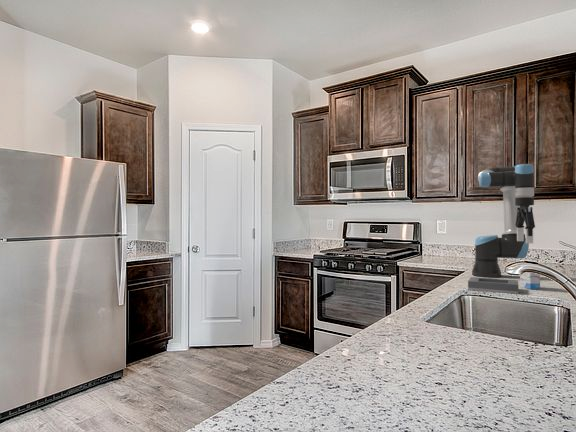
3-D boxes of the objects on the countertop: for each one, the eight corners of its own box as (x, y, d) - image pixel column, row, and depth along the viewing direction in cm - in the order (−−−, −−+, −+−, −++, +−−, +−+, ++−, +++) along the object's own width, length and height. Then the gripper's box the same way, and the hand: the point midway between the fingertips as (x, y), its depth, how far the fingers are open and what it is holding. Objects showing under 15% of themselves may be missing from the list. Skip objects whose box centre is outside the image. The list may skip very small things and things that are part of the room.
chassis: (470, 285, 187) (470, 277, 187) (517, 288, 177) (517, 280, 177) (468, 289, 175) (468, 281, 175) (518, 293, 165) (518, 284, 165)
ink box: (541, 289, 175) (540, 264, 175) (530, 289, 175) (530, 264, 175) (529, 286, 183) (529, 262, 184) (519, 286, 184) (519, 262, 184)
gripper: (508, 198, 190) (508, 240, 190) (523, 196, 166) (524, 244, 166) (525, 198, 187) (525, 240, 187) (543, 195, 163) (543, 244, 164)
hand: (524, 242), depth 177 cm, fingers open, 13 cm apart
